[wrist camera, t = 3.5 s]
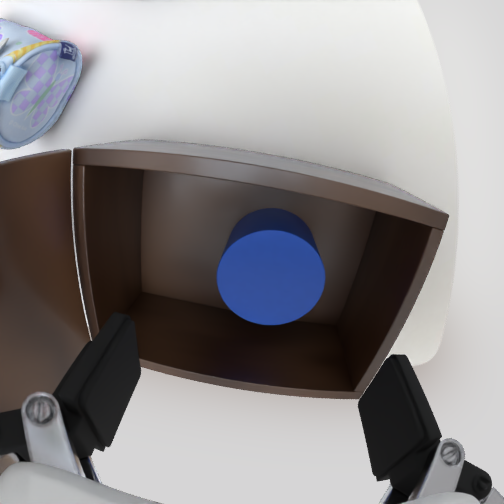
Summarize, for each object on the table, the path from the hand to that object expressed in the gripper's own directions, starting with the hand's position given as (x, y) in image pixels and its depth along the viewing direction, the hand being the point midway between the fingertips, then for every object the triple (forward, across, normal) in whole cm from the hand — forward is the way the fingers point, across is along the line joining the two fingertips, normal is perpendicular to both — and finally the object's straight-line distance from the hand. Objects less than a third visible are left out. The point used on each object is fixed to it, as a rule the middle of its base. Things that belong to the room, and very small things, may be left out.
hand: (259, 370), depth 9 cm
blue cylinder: (+11, 0, 0) cm, 11 cm away
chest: (+12, +1, 0) cm, 12 cm away
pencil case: (+12, +25, -14) cm, 31 cm away
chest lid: (-6, +11, 0) cm, 13 cm away
